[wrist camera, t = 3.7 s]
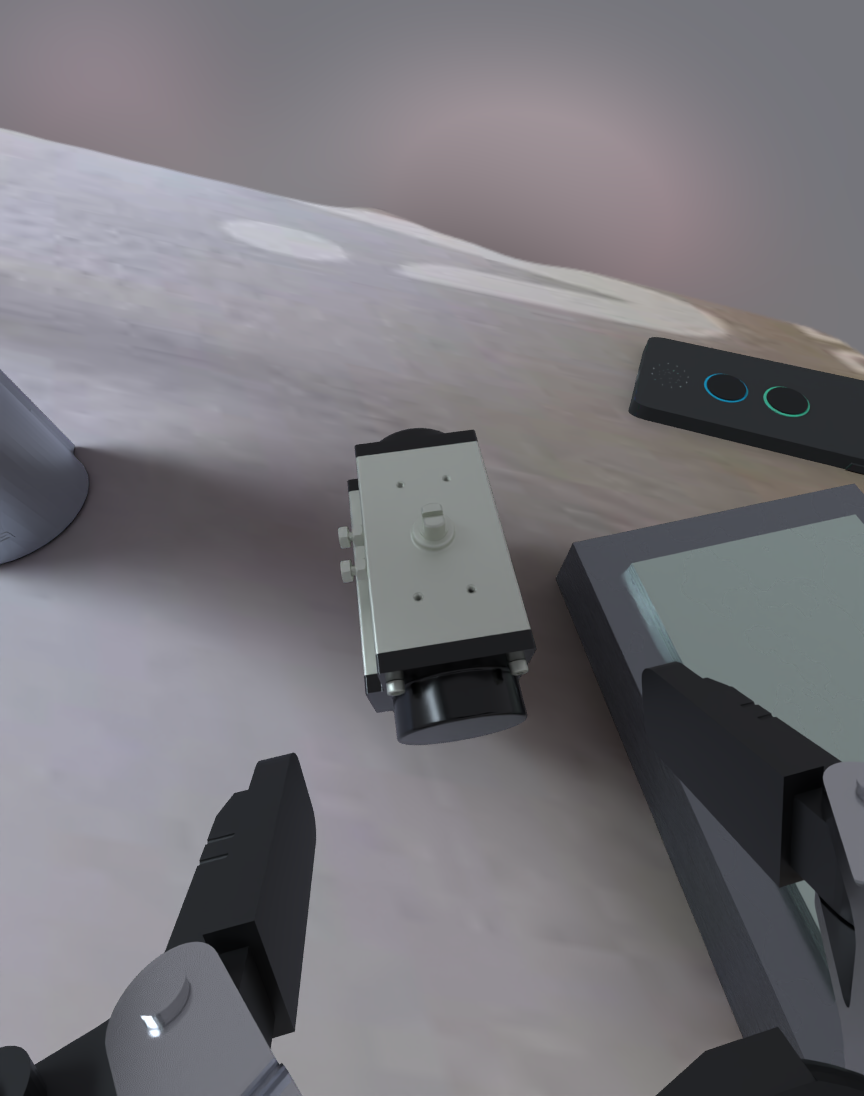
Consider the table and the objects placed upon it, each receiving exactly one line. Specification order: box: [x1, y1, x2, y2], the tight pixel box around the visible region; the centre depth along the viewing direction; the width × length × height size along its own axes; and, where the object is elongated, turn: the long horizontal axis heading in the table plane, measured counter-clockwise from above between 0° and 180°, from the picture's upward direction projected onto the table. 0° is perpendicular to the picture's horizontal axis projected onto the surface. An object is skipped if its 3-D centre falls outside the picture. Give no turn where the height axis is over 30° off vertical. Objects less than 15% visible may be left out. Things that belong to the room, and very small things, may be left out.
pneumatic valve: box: [338, 428, 536, 745], centre depth 20 cm, size 6×12×12 cm, turn 9°
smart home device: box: [629, 337, 864, 474], centre depth 33 cm, size 8×2×20 cm
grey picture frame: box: [556, 484, 864, 1068], centre depth 20 cm, size 20×16×5 cm
